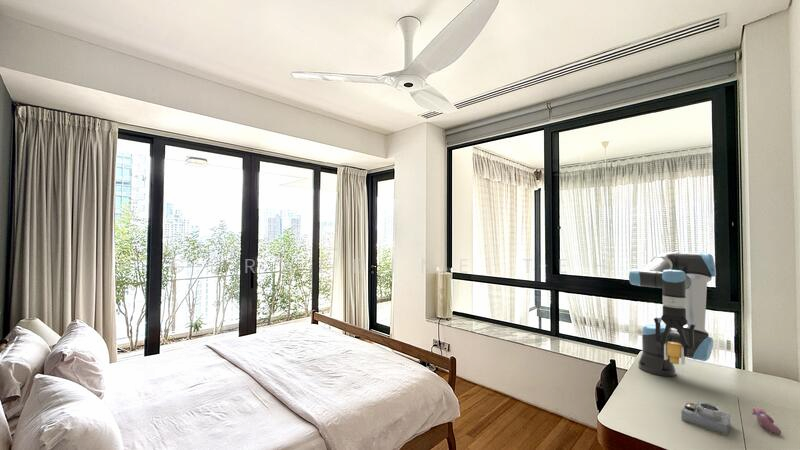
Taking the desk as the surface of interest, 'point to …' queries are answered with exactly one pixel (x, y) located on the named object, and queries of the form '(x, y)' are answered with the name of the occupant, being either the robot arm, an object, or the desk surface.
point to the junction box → (706, 417)
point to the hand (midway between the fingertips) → (674, 361)
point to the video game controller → (765, 420)
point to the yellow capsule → (674, 351)
